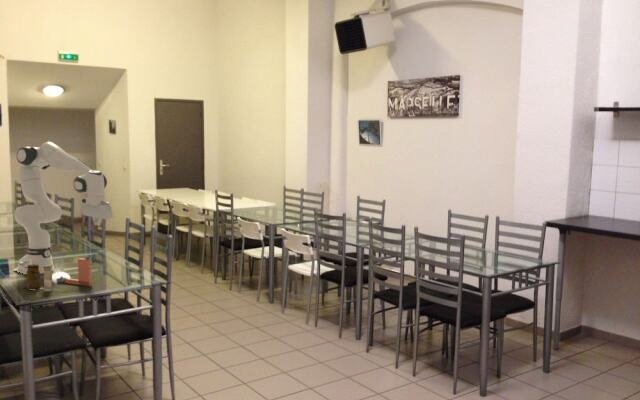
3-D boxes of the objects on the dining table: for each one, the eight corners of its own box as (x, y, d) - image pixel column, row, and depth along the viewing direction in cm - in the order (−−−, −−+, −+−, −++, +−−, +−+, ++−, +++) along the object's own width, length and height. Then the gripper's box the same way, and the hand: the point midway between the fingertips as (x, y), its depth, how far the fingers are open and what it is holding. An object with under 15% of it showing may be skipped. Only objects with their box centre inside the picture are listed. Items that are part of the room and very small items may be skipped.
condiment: (38, 285, 300) (37, 263, 299) (44, 288, 294) (44, 266, 293) (23, 288, 295) (22, 265, 293) (29, 291, 289) (29, 268, 288)
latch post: (45, 289, 293) (44, 264, 292) (53, 289, 294) (52, 264, 292) (43, 291, 290) (42, 266, 288) (51, 291, 290) (50, 266, 289)
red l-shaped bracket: (65, 283, 305) (64, 254, 304) (67, 282, 307) (67, 253, 305) (89, 286, 300) (88, 257, 298) (91, 285, 302) (91, 256, 300)
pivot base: (54, 282, 306) (54, 277, 306) (61, 280, 310) (61, 275, 310) (61, 284, 304) (61, 278, 304) (68, 281, 309) (68, 276, 308)
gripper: (114, 201, 310) (115, 226, 312) (88, 197, 319) (89, 221, 322) (105, 203, 304) (106, 229, 307) (78, 199, 313) (80, 223, 316)
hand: (97, 225), depth 314 cm, fingers closed
